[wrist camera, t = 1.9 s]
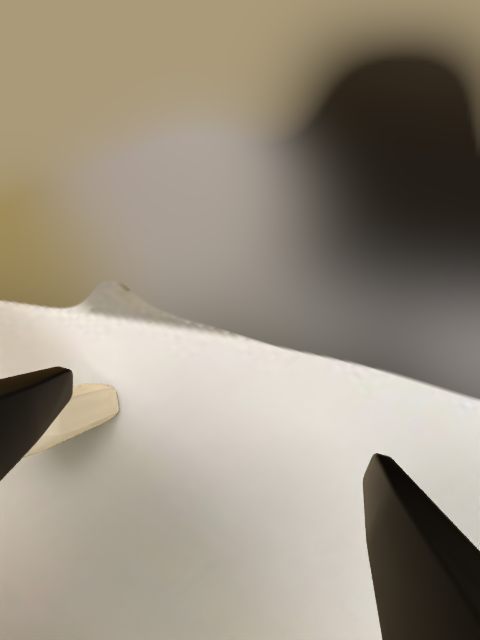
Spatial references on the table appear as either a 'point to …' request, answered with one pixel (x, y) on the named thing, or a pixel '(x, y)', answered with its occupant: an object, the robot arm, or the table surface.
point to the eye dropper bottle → (80, 415)
